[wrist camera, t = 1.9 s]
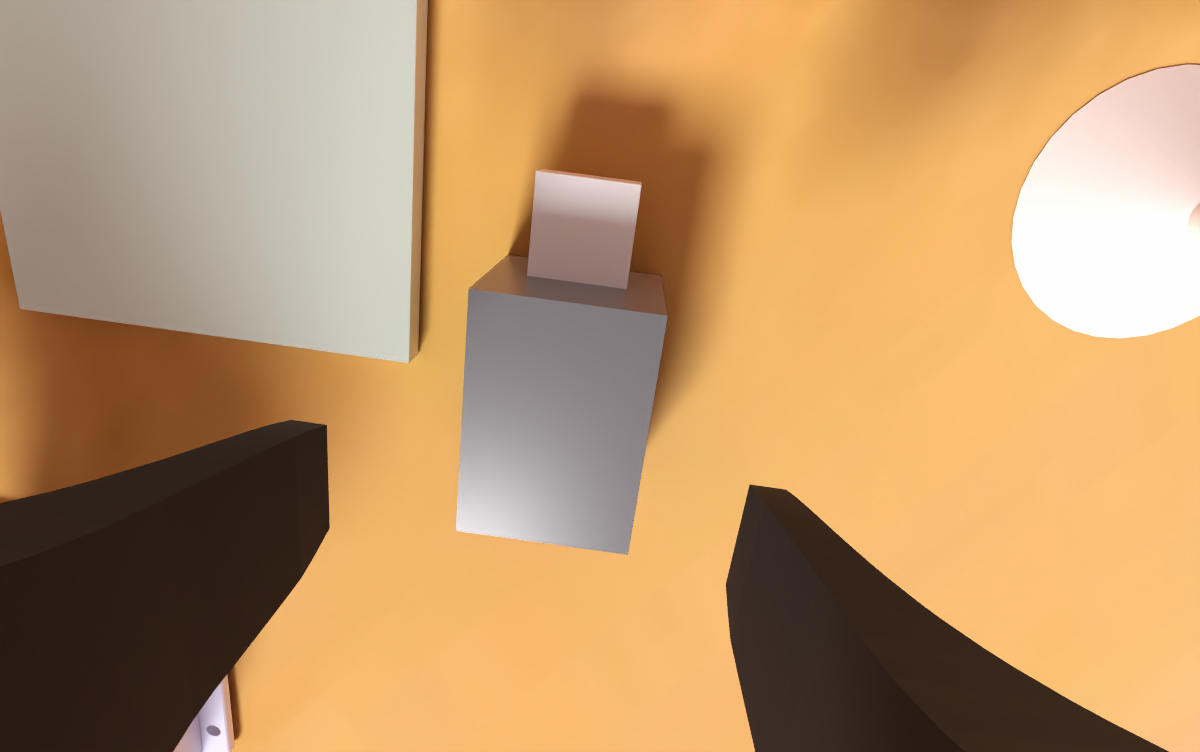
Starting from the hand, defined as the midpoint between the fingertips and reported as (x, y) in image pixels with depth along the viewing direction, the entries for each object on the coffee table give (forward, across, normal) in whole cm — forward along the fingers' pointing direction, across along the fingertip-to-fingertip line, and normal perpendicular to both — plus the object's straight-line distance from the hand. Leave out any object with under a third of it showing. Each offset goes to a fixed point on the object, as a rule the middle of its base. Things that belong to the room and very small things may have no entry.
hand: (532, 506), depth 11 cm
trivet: (+8, +10, -5) cm, 14 cm away
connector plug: (+8, 0, -1) cm, 8 cm away
